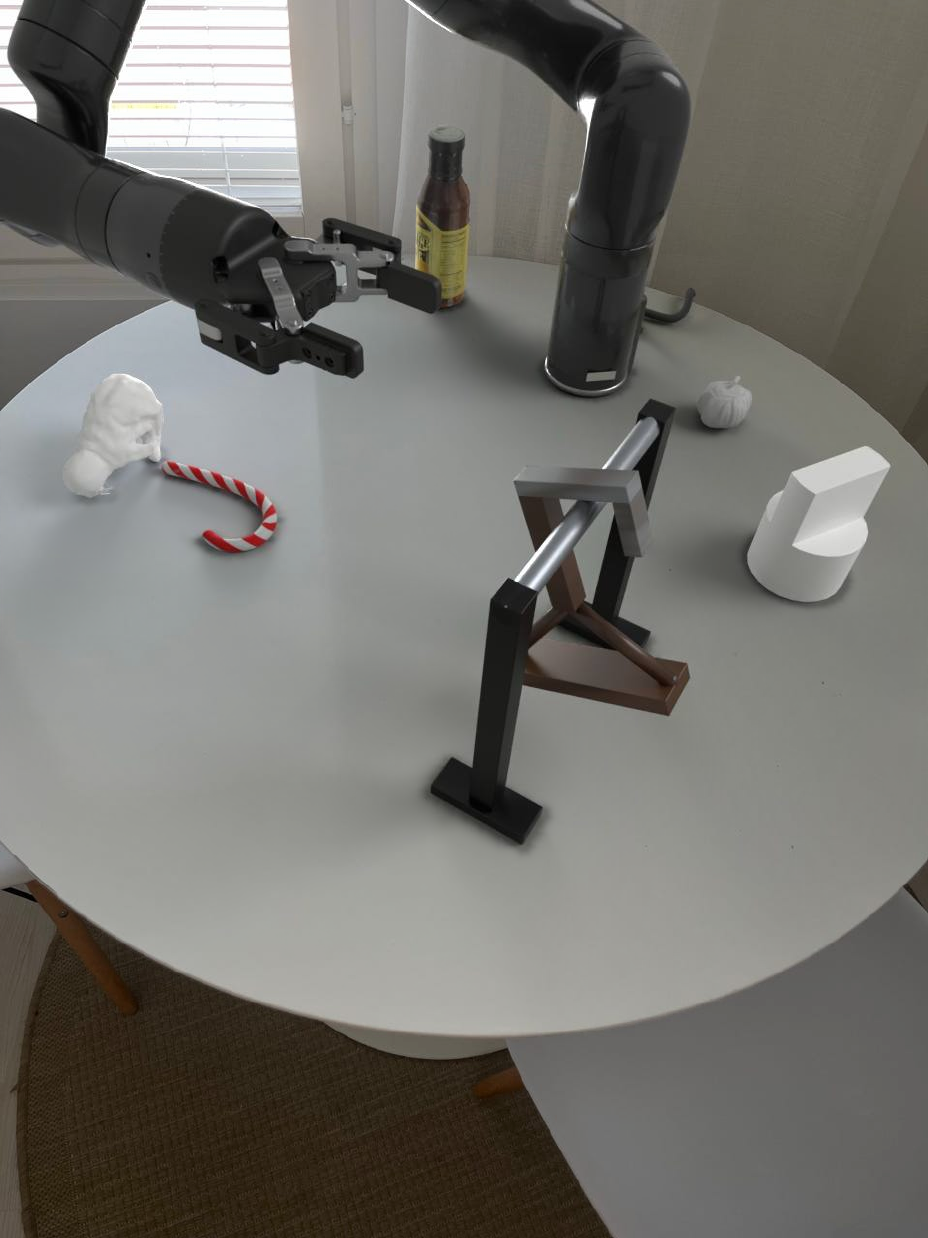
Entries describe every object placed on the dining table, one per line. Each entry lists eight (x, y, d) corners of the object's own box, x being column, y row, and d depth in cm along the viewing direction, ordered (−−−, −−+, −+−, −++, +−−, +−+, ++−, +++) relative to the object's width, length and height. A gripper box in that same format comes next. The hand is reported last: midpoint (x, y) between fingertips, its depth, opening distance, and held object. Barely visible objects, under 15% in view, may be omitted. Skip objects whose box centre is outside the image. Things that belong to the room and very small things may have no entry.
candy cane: (187, 443, 91) (296, 510, 86) (190, 453, 92) (297, 520, 87) (125, 483, 87) (235, 556, 81) (128, 493, 88) (237, 566, 82)
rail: (567, 601, 82) (613, 378, 63) (648, 639, 79) (720, 419, 61) (430, 793, 69) (438, 582, 50) (522, 845, 66) (566, 644, 48)
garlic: (726, 400, 102) (739, 361, 98) (755, 429, 99) (770, 389, 95) (682, 413, 100) (693, 373, 96) (710, 442, 97) (723, 402, 93)
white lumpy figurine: (159, 374, 86) (80, 457, 79) (181, 440, 93) (111, 522, 86) (103, 356, 87) (22, 437, 81) (129, 422, 94) (56, 501, 88)
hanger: (500, 681, 71) (426, 485, 60) (525, 647, 73) (458, 452, 62) (670, 717, 63) (619, 497, 52) (691, 678, 65) (647, 460, 54)
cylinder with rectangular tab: (789, 614, 82) (838, 518, 73) (727, 549, 87) (766, 451, 78) (863, 583, 85) (919, 487, 76) (799, 522, 90) (844, 424, 81)
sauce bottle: (413, 283, 115) (415, 116, 100) (462, 283, 115) (471, 117, 100) (416, 312, 111) (418, 142, 95) (467, 312, 111) (477, 143, 96)
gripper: (102, 236, 53) (327, 327, 48) (259, 151, 61) (465, 222, 56) (132, 348, 59) (335, 439, 54) (272, 257, 67) (459, 329, 62)
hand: (401, 328), depth 55 cm, fingers open, 8 cm apart
